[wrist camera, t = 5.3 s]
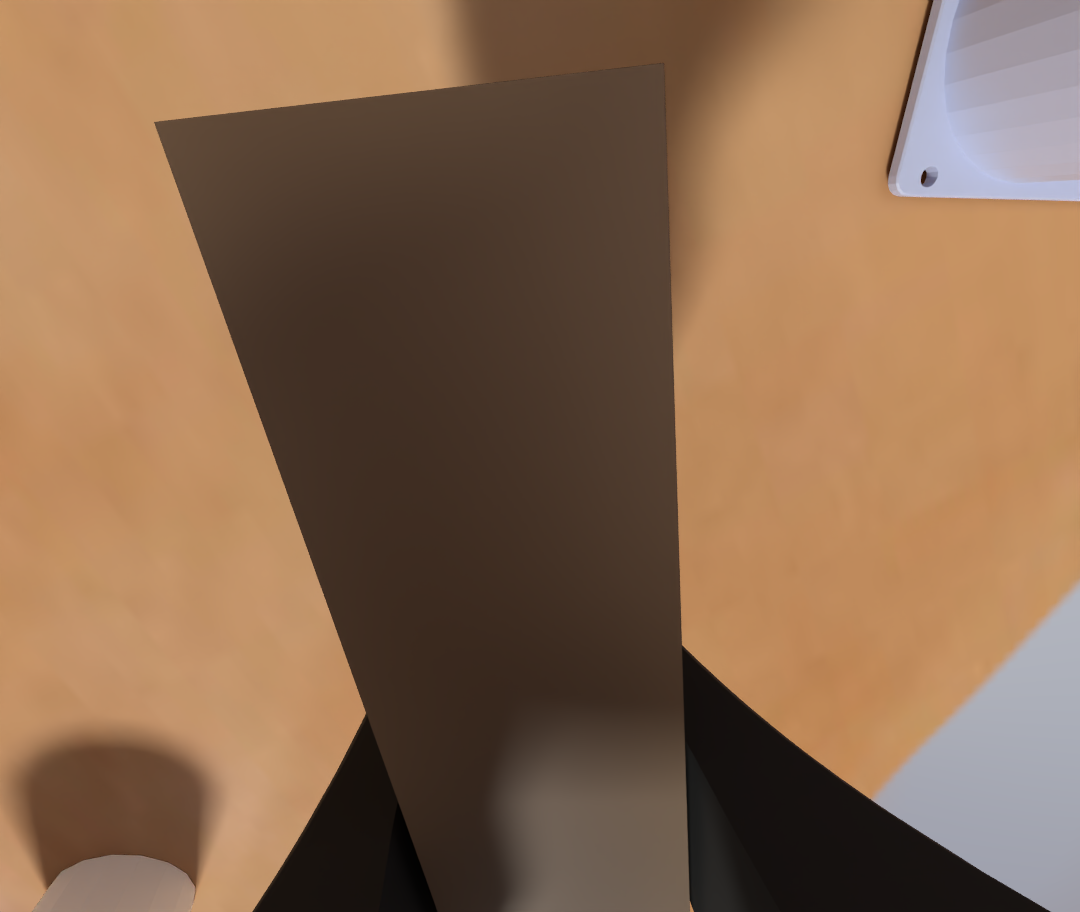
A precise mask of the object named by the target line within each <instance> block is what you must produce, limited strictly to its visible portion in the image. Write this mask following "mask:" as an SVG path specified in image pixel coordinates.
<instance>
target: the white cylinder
mask: <svg viewBox="0 0 1080 912" xmlns="http://www.w3.org/2000/svg"><path fill="white" fill-rule="evenodd" d="M194 895H195V886H194V884H193V883H192V881H191V880H190V878H189V876H188V875H187V873H185V872H183V871H182V870H180V869H178V868H177V867H175V866H173V865H172V864H170V863H168V862H165V861H161V860H157V859H153V858H149V857H145V856H140V855H108V856H103V857H98V858H93V859H88V860H83V861H81V862H79V863H77V864H75V865H73V866H71V867H69V868H67V869H65V870H63V871H61V873H60V874H59V875H58V876H57V878H56V879H55V880H54V881H53V883H52V884H51V885H50V886H49V888H48V889H47V891H46V892H45V893H44V895H43V896H42V898H41V899H40V901H39V902H38V903H37V905H36V906H35V908H34V909H33V911H32V912H191V909H192V906H193V902H194Z"/></svg>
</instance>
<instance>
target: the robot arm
mask: <svg viewBox="0 0 1080 912" xmlns="http://www.w3.org/2000/svg"><path fill="white" fill-rule="evenodd" d="M924 170H926V172H927V176H926V180H925V182H924V183H923V184H921V175H922V173H923V171H924ZM888 186H889V190H890V192H891V193H892V194H893V195H896V196H899V197H936V198H975V199H1013V200H1051V201H1080V0H934V1H933V5H932V9H931V13H930V17H929V20H928V24H927V28H926V32H925V36H924V40H923V44H922V48H921V52H920V56H919V60H918V64H917V67H916V71H915V75H914V79H913V83H912V87H911V91H910V95H909V99H908V103H907V107H906V111H905V114H904V118H903V122H902V126H901V130H900V134H899V138H898V142H897V146H896V150H895V154H894V158H893V161H892V165H891V169H890V173H889V178H888ZM682 667H683V700H684V733H685V766H686V799H687V832H688V864H689V897H690V902H691V905H692V908H693V910H694V912H1050V911H1048V910H1046V909H1045V908H1043V907H1042V906H1040V905H1038V904H1037V903H1035V902H1033V901H1031V900H1030V899H1028V898H1026V897H1024V896H1023V895H1021V894H1019V893H1018V892H1016V891H1014V890H1013V889H1011V888H1009V887H1008V886H1006V885H1004V884H1003V883H1001V882H999V881H997V880H996V879H994V878H992V877H990V876H989V875H987V874H985V873H984V872H982V871H981V870H979V869H977V868H976V867H974V866H973V865H971V864H969V863H968V862H966V861H965V860H963V859H962V858H960V857H959V856H957V855H955V854H954V853H952V852H951V851H949V850H948V849H946V848H944V847H943V846H941V845H940V844H938V843H937V842H935V841H933V840H932V839H930V838H929V837H927V836H926V835H924V834H922V833H921V832H919V831H918V830H916V829H915V828H913V827H911V826H910V825H908V824H907V823H905V822H904V821H902V820H900V819H899V818H897V817H896V816H894V815H893V814H891V813H889V812H888V811H887V810H885V809H884V808H882V807H881V806H879V805H878V804H876V803H875V802H873V801H872V800H871V799H869V798H868V797H866V796H865V795H863V794H862V793H861V792H859V791H858V790H856V789H855V788H853V787H852V786H851V785H849V784H848V783H846V782H845V781H843V780H842V779H841V778H839V777H838V776H836V775H835V774H834V773H832V772H831V771H830V770H828V769H827V768H826V767H824V766H823V765H822V764H820V763H819V762H818V761H816V760H815V759H813V758H812V757H811V756H809V755H808V754H807V753H805V752H804V751H803V750H802V749H800V748H799V747H798V746H796V745H795V744H794V743H793V742H791V741H790V740H789V739H787V738H786V737H785V736H784V735H782V734H781V733H780V732H779V731H777V730H776V729H775V728H774V727H773V726H771V725H770V724H769V723H768V722H767V721H765V720H764V719H763V718H762V717H761V716H759V715H758V714H757V713H756V712H755V711H753V710H752V709H751V708H750V707H749V706H747V705H746V704H745V703H744V702H743V701H742V700H741V699H739V698H738V697H737V696H736V695H735V694H734V693H733V692H731V691H730V690H729V689H728V688H727V687H726V686H725V685H724V684H723V683H721V682H720V681H719V680H718V679H717V678H716V677H715V676H714V675H713V674H712V673H711V672H710V671H709V670H707V669H706V668H705V667H704V666H703V665H702V664H701V663H700V662H699V661H698V660H697V659H696V658H695V657H694V656H693V655H692V654H691V653H689V652H688V651H687V650H686V649H685V648H684V647H683V646H682ZM253 912H438V911H437V909H436V906H435V903H434V900H433V897H432V895H431V892H430V889H429V886H428V883H427V881H426V878H425V875H424V872H423V870H422V867H421V864H420V861H419V858H418V856H417V853H416V850H415V847H414V844H413V842H412V839H411V836H410V833H409V831H408V828H407V825H406V822H405V819H404V817H403V814H402V811H401V808H400V805H399V803H398V800H397V797H396V794H395V792H394V789H393V786H392V783H391V780H390V778H389V775H388V772H387V769H386V767H385V764H384V761H383V758H382V755H381V753H380V750H379V747H378V744H377V741H376V739H375V736H374V733H373V730H372V728H371V725H370V722H369V719H368V716H367V714H366V715H365V717H364V719H363V721H362V723H361V725H360V727H359V729H358V731H357V733H356V735H355V737H354V739H353V741H352V743H351V745H350V747H349V749H348V751H347V753H346V755H345V757H344V758H343V760H342V762H341V764H340V766H339V768H338V770H337V772H336V774H335V776H334V777H333V779H332V781H331V783H330V785H329V786H328V788H327V790H326V792H325V793H324V795H323V797H322V799H321V800H320V802H319V804H318V806H317V807H316V809H315V811H314V813H313V815H312V816H311V818H310V820H309V822H308V823H307V825H306V827H305V829H304V830H303V832H302V834H301V835H300V837H299V839H298V841H297V842H296V844H295V845H294V847H293V849H292V850H291V852H290V854H289V855H288V857H287V859H286V860H285V862H284V863H283V865H282V867H281V868H280V870H279V871H278V873H277V875H276V876H275V878H274V879H273V881H272V883H271V884H270V886H269V887H268V889H267V890H266V892H265V893H264V895H263V896H262V898H261V899H260V901H259V902H258V904H257V906H256V907H255V909H254V910H253Z"/></svg>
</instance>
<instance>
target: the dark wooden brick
mask: <svg viewBox="0 0 1080 912" xmlns="http://www.w3.org/2000/svg"><path fill="white" fill-rule="evenodd" d="M154 123H155V126H156V129H157V132H158V134H159V137H160V140H161V143H162V145H163V148H164V151H165V154H166V157H167V159H168V162H169V165H170V168H171V171H172V173H173V176H174V179H175V182H176V184H177V187H178V190H179V193H180V196H181V198H182V201H183V204H184V207H185V210H186V212H187V215H188V218H189V221H190V223H191V226H192V229H193V232H194V235H195V237H196V240H197V243H198V246H199V249H200V251H201V254H202V257H203V260H204V262H205V265H206V268H207V271H208V274H209V276H210V279H211V282H212V285H213V288H214V290H215V293H216V296H217V299H218V301H219V304H220V307H221V310H222V313H223V315H224V318H225V321H226V324H227V326H228V329H229V332H230V335H231V338H232V340H233V343H234V346H235V349H236V352H237V354H238V357H239V360H240V363H241V365H242V368H243V371H244V374H245V377H246V379H247V382H248V385H249V388H250V391H251V393H252V396H253V399H254V402H255V404H256V407H257V410H258V413H259V416H260V418H261V421H262V424H263V427H264V430H265V432H266V435H267V438H268V441H269V443H270V446H271V449H272V452H273V455H274V457H275V460H276V463H277V466H278V469H279V471H280V474H281V477H282V480H283V482H284V485H285V488H286V491H287V494H288V496H289V499H290V502H291V505H292V508H293V510H294V513H295V516H296V519H297V521H298V524H299V527H300V530H301V533H302V535H303V538H304V541H305V544H306V546H307V549H308V552H309V555H310V558H311V560H312V563H313V566H314V569H315V572H316V574H317V577H318V580H319V583H320V585H321V588H322V591H323V594H324V597H325V599H326V602H327V605H328V608H329V611H330V613H331V616H332V619H333V622H334V624H335V627H336V630H337V633H338V636H339V638H340V641H341V644H342V647H343V650H344V652H345V655H346V658H347V661H348V663H349V666H350V669H351V672H352V675H353V677H354V680H355V683H356V686H357V689H358V691H359V694H360V697H361V700H362V702H363V705H364V708H365V711H366V714H367V716H368V719H369V722H370V725H371V728H372V730H373V733H374V736H375V739H376V741H377V744H378V747H379V750H380V753H381V755H382V758H383V761H384V764H385V767H386V769H387V772H388V775H389V778H390V780H391V783H392V786H393V789H394V792H395V794H396V797H397V800H398V803H399V805H400V808H401V811H402V814H403V817H404V819H405V822H406V825H407V828H408V831H409V833H410V836H411V839H412V842H413V844H414V847H415V850H416V853H417V856H418V858H419V861H420V864H421V867H422V870H423V872H424V875H425V878H426V881H427V883H428V886H429V889H430V892H431V895H432V897H433V900H434V903H435V906H436V909H437V911H438V912H690V897H689V864H688V832H687V799H686V766H685V733H684V700H683V667H682V634H681V601H680V569H679V536H678V503H677V470H676V437H675V404H674V371H673V338H672V306H671V273H670V240H669V207H668V174H667V141H666V108H665V75H664V63H659V64H651V65H642V66H633V67H625V68H616V69H608V70H599V71H590V72H582V73H573V74H564V75H556V76H547V77H539V78H530V79H521V80H513V81H504V82H495V83H487V84H478V85H470V86H461V87H452V88H444V89H435V90H427V91H418V92H409V93H401V94H392V95H383V96H375V97H366V98H358V99H349V100H340V101H332V102H323V103H314V104H306V105H297V106H289V107H280V108H271V109H263V110H254V111H245V112H237V113H228V114H220V115H211V116H202V117H194V118H185V119H176V120H168V121H159V122H154Z"/></svg>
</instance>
